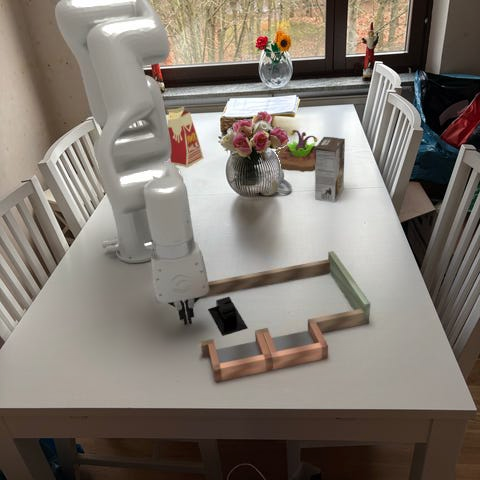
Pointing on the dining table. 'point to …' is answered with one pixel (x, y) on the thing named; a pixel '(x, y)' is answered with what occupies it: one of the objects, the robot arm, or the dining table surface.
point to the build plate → (227, 317)
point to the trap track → (293, 345)
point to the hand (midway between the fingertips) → (187, 320)
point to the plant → (298, 154)
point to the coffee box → (329, 168)
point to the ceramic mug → (277, 184)
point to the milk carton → (183, 138)
